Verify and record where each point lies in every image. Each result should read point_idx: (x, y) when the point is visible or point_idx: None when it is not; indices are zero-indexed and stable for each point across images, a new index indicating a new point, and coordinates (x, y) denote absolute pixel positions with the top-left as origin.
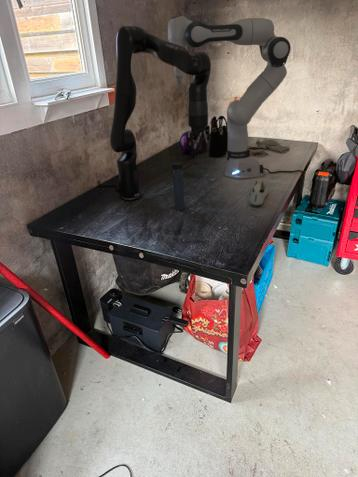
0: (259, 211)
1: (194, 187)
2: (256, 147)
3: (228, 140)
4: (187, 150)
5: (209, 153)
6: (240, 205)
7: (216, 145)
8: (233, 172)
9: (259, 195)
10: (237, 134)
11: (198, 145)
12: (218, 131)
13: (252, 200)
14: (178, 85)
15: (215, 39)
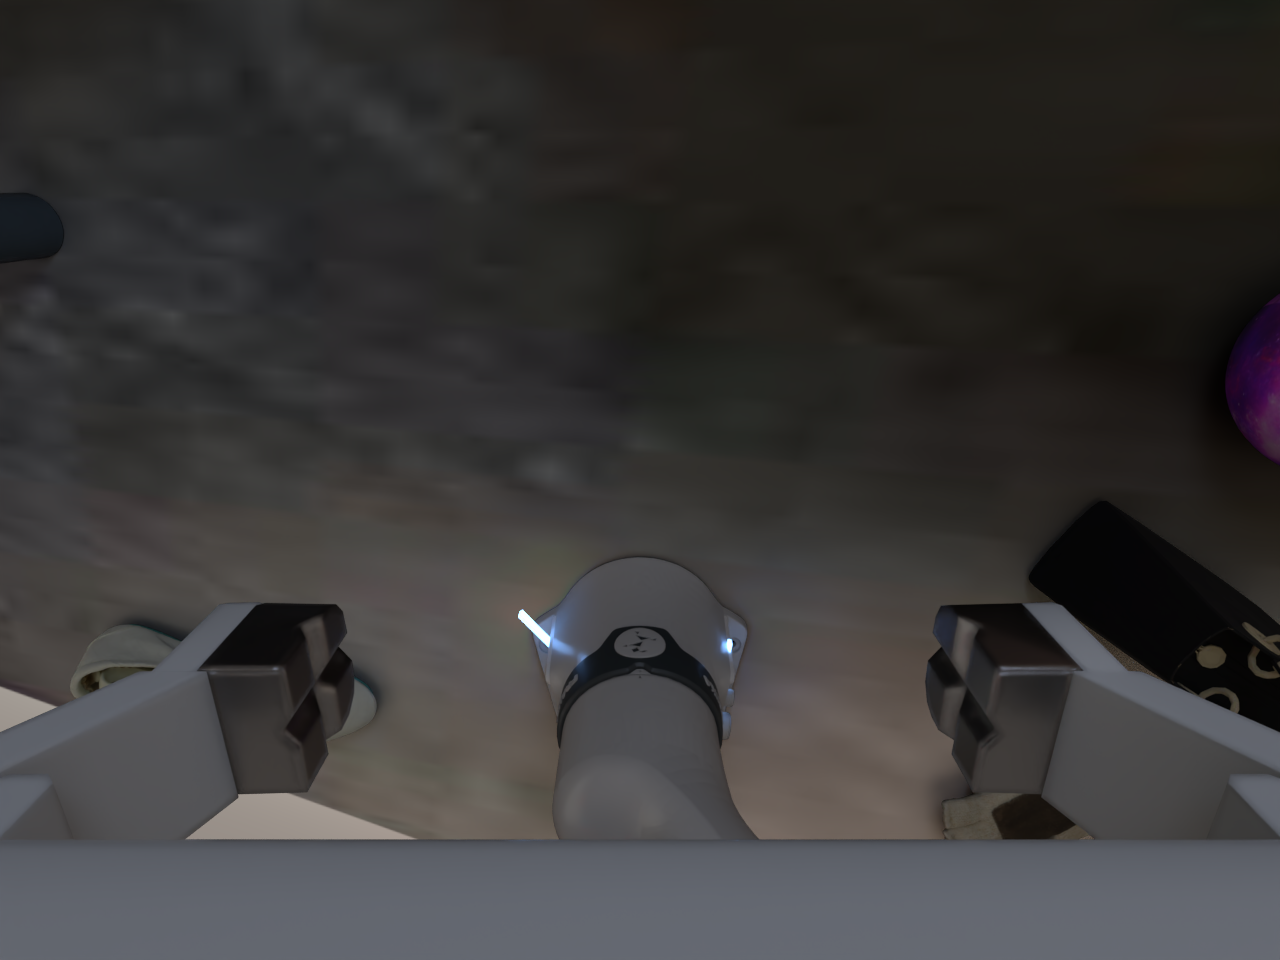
0: (67, 644)
1: (405, 340)
2: (1055, 834)
3: (617, 732)
4: (1243, 330)
5: (1105, 512)
6: (130, 573)
7: (1091, 598)
8: (524, 620)
9: (85, 690)
10: (573, 832)
11: (1254, 446)
12: (1180, 687)
13: (91, 644)
14: (188, 657)
15: None
